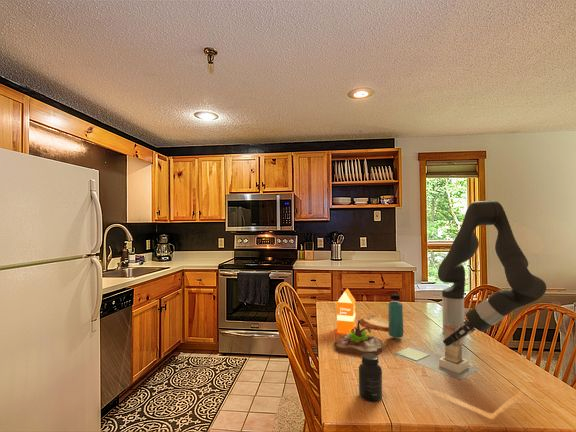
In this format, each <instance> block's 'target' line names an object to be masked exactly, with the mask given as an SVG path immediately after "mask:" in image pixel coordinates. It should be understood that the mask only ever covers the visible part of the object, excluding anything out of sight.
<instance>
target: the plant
mask: <svg viewBox="0 0 576 432" xmlns="http://www.w3.org/2000/svg"><path fill="white" fill-rule="evenodd" d="M360 319H361V318H359V319H358V320H357V325H356V326H357V327H356V326H355V327H354V328H353V329H352V330H350V331H351V332H350V334H344V333H343V334H342V335H340V337H339V338H337V339H335V340H334V342H333V343H334V344H333V345H334V346H333V347H334V349H335V351H338V352H339V353H343V354H350V355H356V356H361V357H362V355H363V354H367V353H370V354H375V355H377V356H378V354H381V353H383V350H384V349H383V341H382V339H380V338H378V337H376V336H374V335H371V333H372V329H371V328H369V327H363V328H362V329H361V328H360V325H361V320H360ZM354 329H355V331H354ZM366 330H367V331H366ZM367 333H369V334H367Z"/></svg>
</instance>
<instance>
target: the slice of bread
mask: <svg viewBox="0 0 576 432" xmlns="http://www.w3.org/2000/svg"><path fill="white" fill-rule="evenodd" d="M359 319H360V320H361V323H360V325H362V326H364V327H365V328H369V329H375V330H379V331H385V332H389V329H388V327H389V326H388V325H389V319H386V318H383V317H379V316H376V315H372V314H370V315H367V316H365V317H362V318H359Z"/></svg>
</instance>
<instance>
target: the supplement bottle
mask: <svg viewBox="0 0 576 432" xmlns="http://www.w3.org/2000/svg"><path fill="white" fill-rule="evenodd" d="M379 363H380V361H379V355H378V354H377V355H375V354H370V353H367V354H363V355H362V356H361V363H360V364H359V366H358V394H359V396H360V398H361V399H362V400H364V401H366V402H370V403H371V402H372V403H376V402H379V401H380V400H382V398H383V369H382V367H381V365H380V364H379Z"/></svg>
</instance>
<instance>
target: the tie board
mask: <svg viewBox="0 0 576 432" xmlns="http://www.w3.org/2000/svg"><path fill="white" fill-rule="evenodd" d="M392 355H395V356H396V357H398V358H400V359H404V360H407V361H410V362H412V363H415V364H417V365H420V366H422V367H425V368H428V369H430V370H433V371H436V372H438V373H440V374H443V375H446V376H449V377H450V378H453V379H456V380H459V381H461V380H463V379H465V378H466V377H467V376H469V375H471V374H473V373H475V372H477V371H478V370H479V369H480V367H476V366H473V365H471V364H469V360H468V359H464V358H462V360H461V361H459V362H458V363H455V362H452V361H449V360H446V359H445V355H444V356H443V355H440V354H438V353H435V352H432V351H429V350H426V349H423V348H419V347H418V346H414V345H412V346H411V345H410V346H408V347H407V348H403V349H401V350H399V351H396V352H393V353H392Z"/></svg>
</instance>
